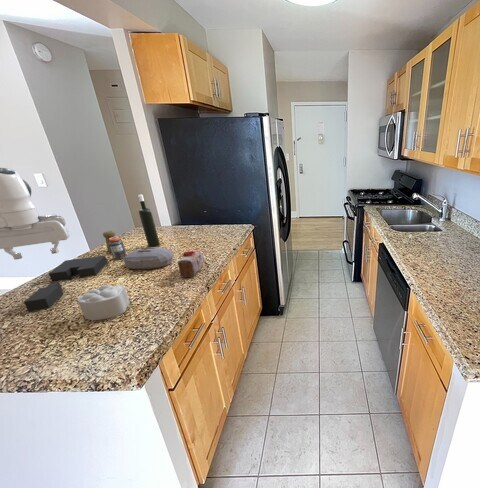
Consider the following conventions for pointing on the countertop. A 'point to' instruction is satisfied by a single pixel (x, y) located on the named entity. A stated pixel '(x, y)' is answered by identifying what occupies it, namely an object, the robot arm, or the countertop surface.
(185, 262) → the food item
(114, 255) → the pill bottle
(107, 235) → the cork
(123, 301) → the lumpy-topped squat cylinder
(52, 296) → the pad
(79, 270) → the base pad
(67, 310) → the countertop surface
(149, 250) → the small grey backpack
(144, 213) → the wine bottle
